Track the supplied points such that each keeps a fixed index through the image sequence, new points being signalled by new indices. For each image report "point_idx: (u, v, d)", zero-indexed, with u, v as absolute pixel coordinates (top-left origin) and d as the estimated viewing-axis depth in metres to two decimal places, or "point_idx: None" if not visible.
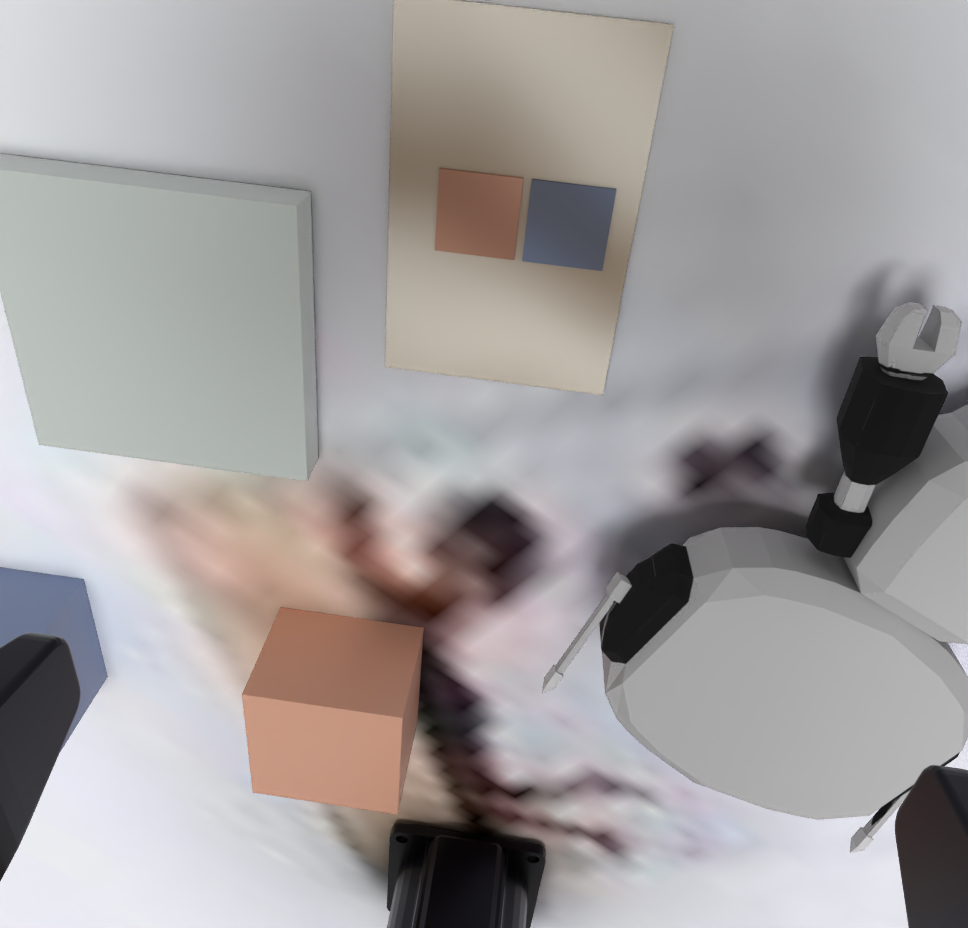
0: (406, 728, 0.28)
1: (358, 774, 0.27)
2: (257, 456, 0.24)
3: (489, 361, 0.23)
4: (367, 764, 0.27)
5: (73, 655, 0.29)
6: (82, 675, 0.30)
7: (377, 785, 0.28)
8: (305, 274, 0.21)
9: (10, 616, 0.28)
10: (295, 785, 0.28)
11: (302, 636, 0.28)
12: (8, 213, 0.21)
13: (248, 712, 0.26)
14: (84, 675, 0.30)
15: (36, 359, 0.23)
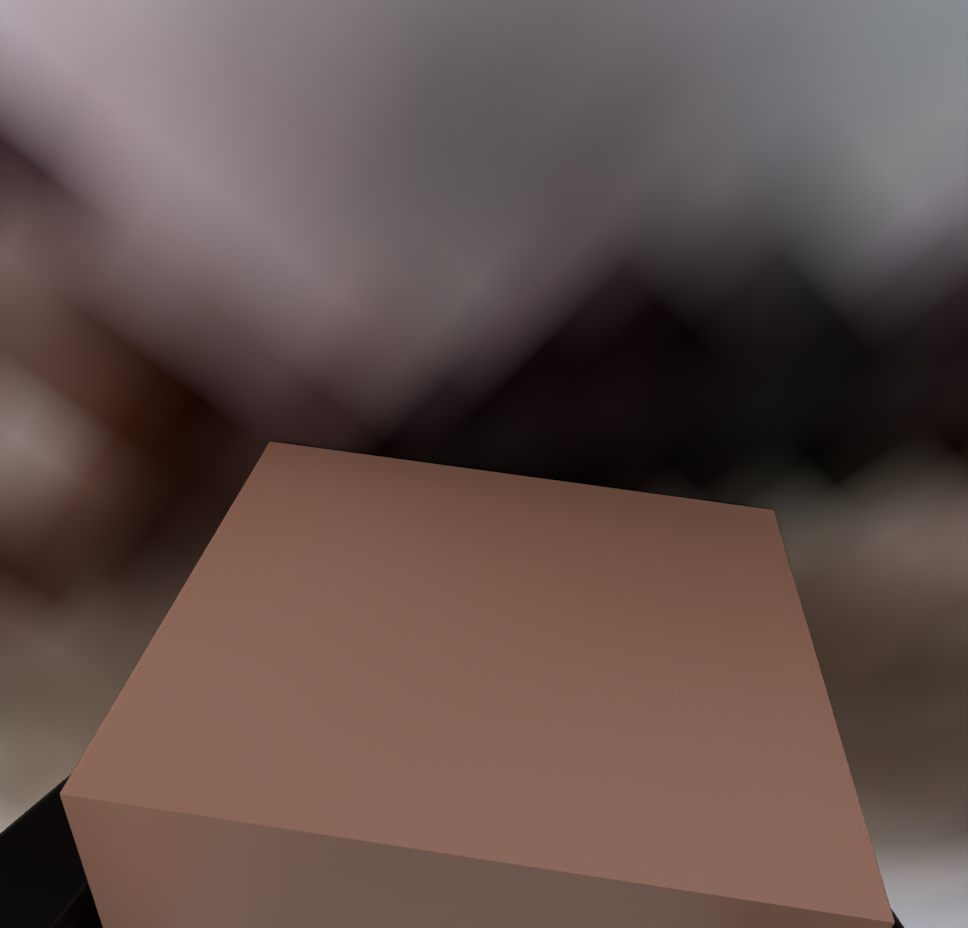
0: (380, 704, 0.06)
1: None
2: None
3: None
4: None
5: None
6: None
7: None
8: None
9: None
10: None
11: None
12: None
13: None
14: None
15: None
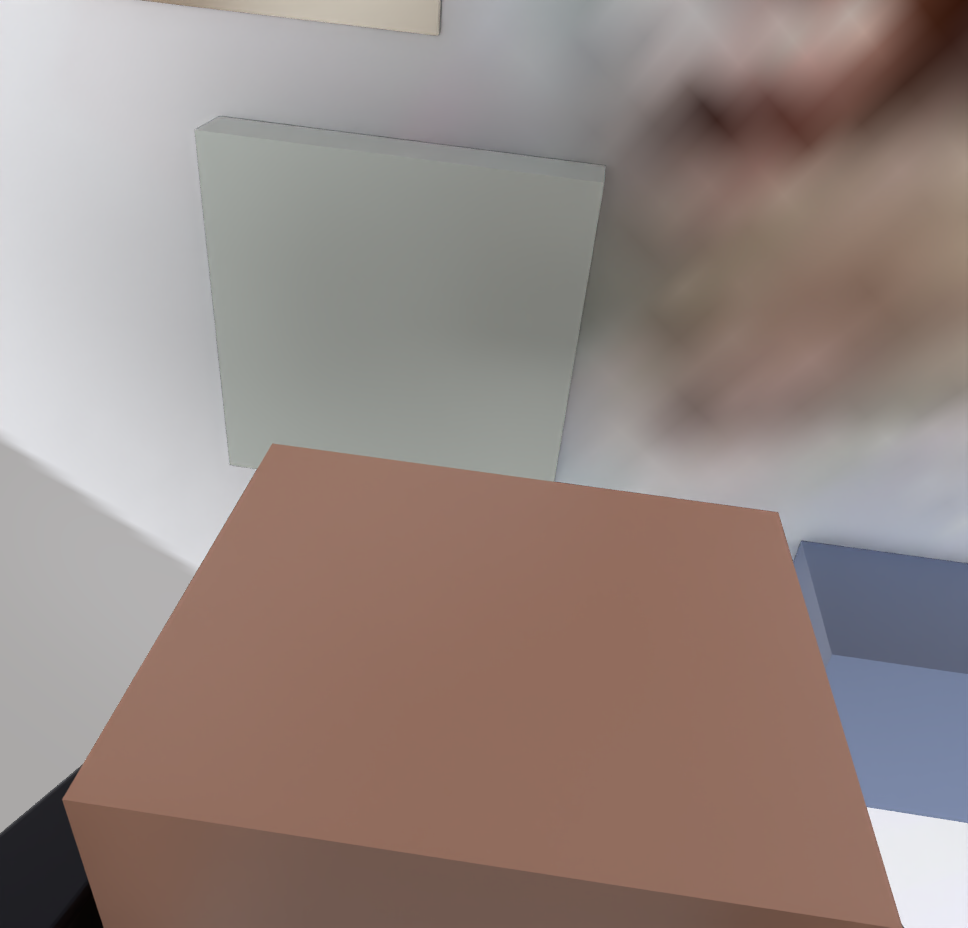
0: (384, 709, 0.06)
1: None
2: (560, 251, 0.17)
3: None
4: None
5: (907, 594, 0.20)
6: (959, 595, 0.20)
7: None
8: (298, 135, 0.17)
9: None
10: None
11: None
12: None
13: None
14: (961, 594, 0.20)
15: None
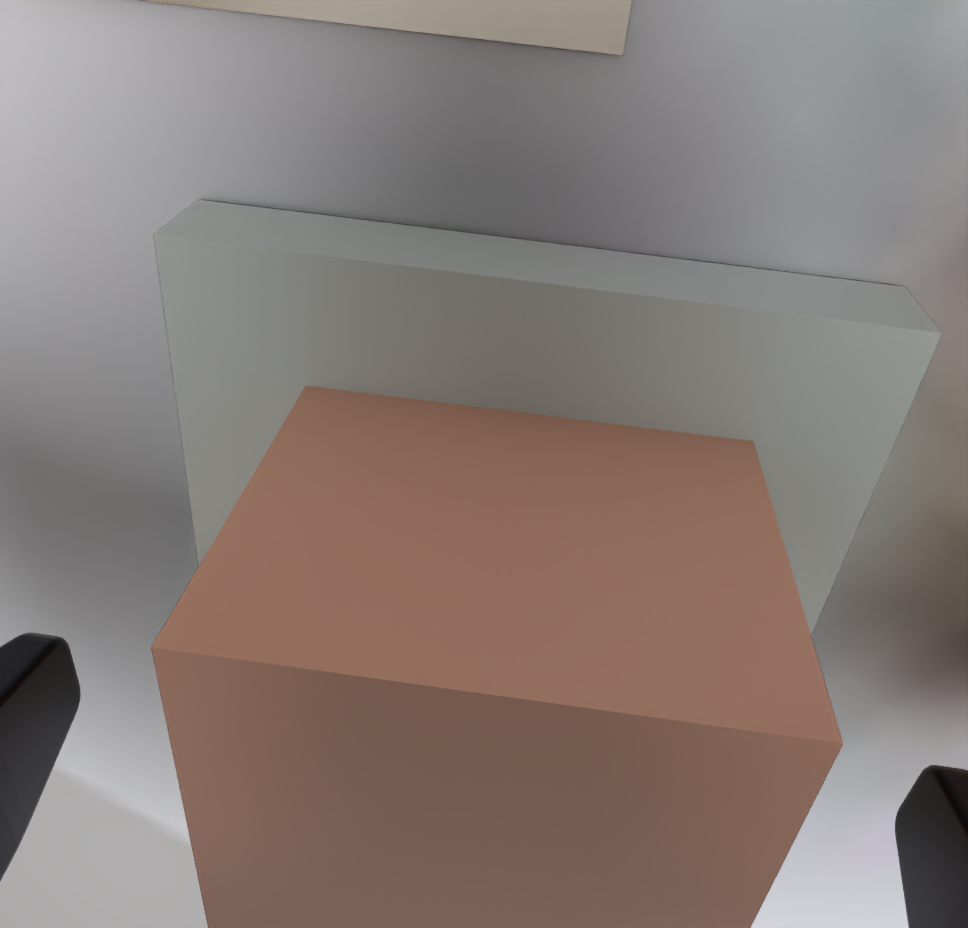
0: (413, 586, 0.07)
1: (549, 817, 0.07)
2: (831, 444, 0.09)
3: None
4: (478, 783, 0.07)
5: None
6: None
7: (623, 777, 0.06)
8: (348, 240, 0.09)
9: None
10: None
11: None
12: None
13: None
14: None
15: None
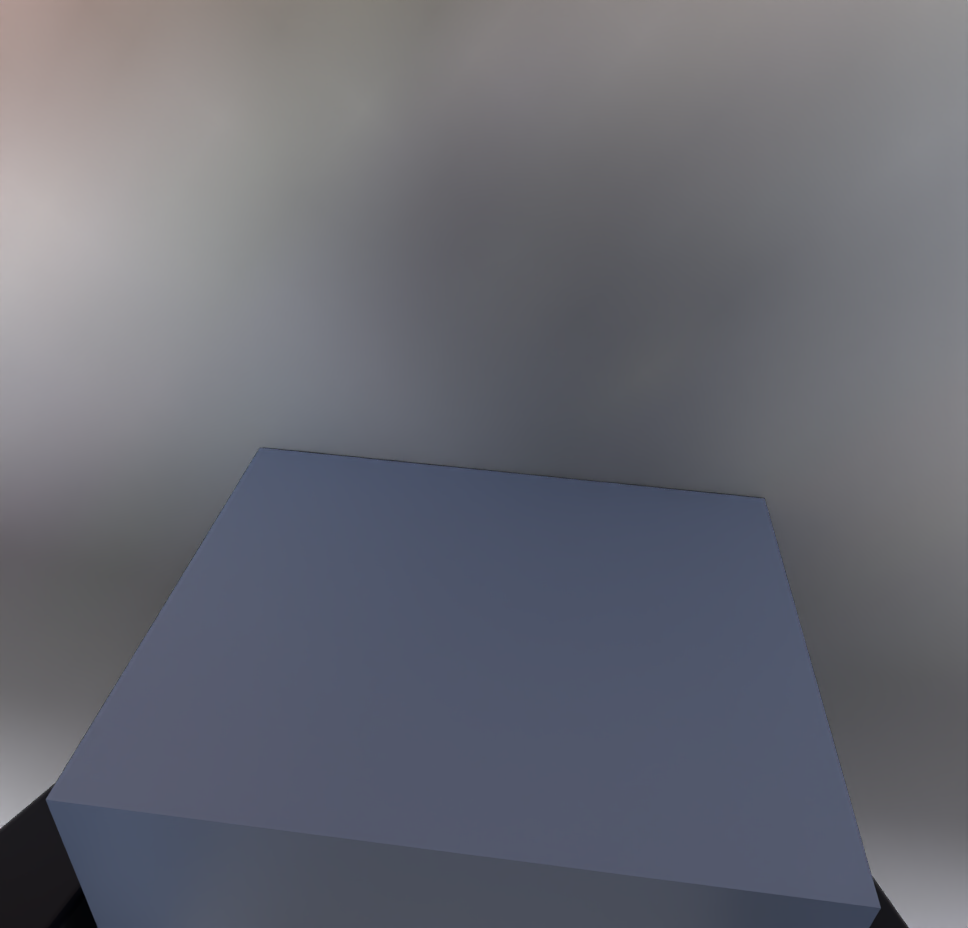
0: None
1: None
2: None
3: None
4: None
5: (456, 581, 0.07)
6: (608, 579, 0.07)
7: None
8: None
9: None
10: None
11: None
12: None
13: None
14: (615, 578, 0.07)
15: None
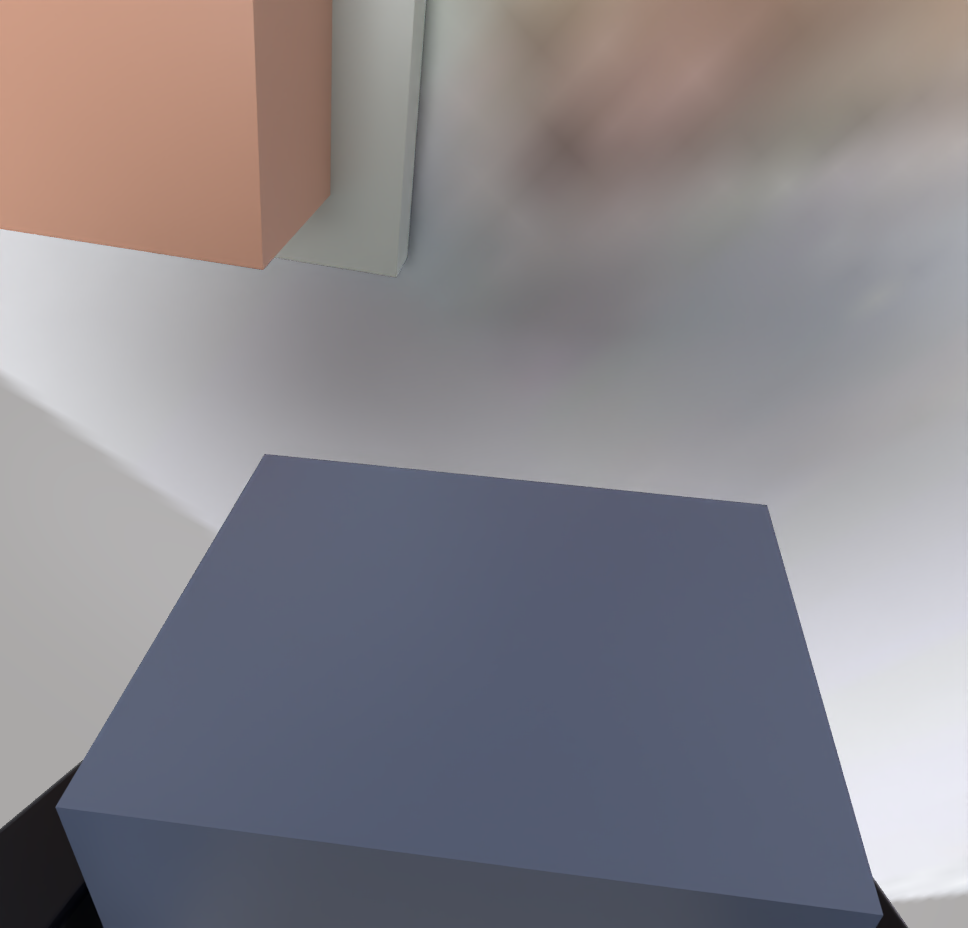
0: None
1: None
2: None
3: None
4: None
5: (460, 588, 0.07)
6: (612, 587, 0.07)
7: None
8: None
9: None
10: (209, 165, 0.12)
11: None
12: None
13: (4, 220, 0.13)
14: (619, 584, 0.07)
15: None
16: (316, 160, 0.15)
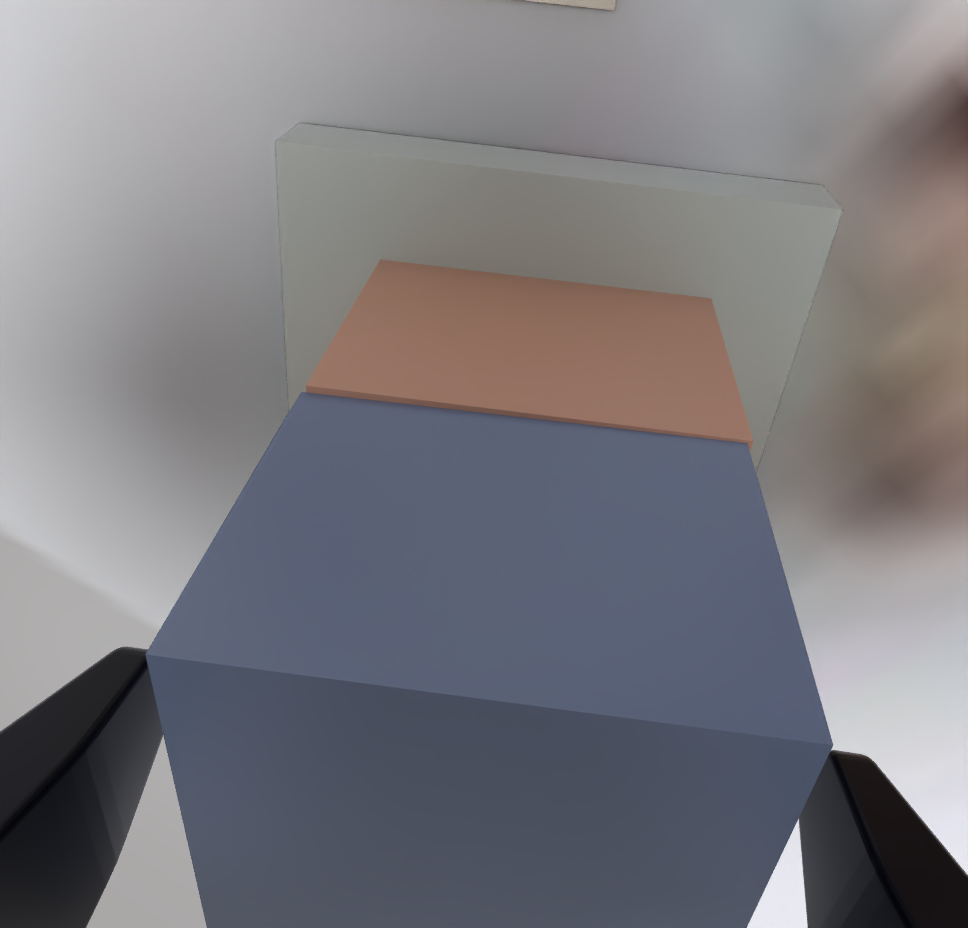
0: (471, 363, 0.10)
1: None
2: (768, 300, 0.12)
3: None
4: None
5: (479, 501, 0.08)
6: (610, 504, 0.08)
7: None
8: (414, 148, 0.12)
9: None
10: None
11: None
12: None
13: None
14: (617, 502, 0.08)
15: None
16: None
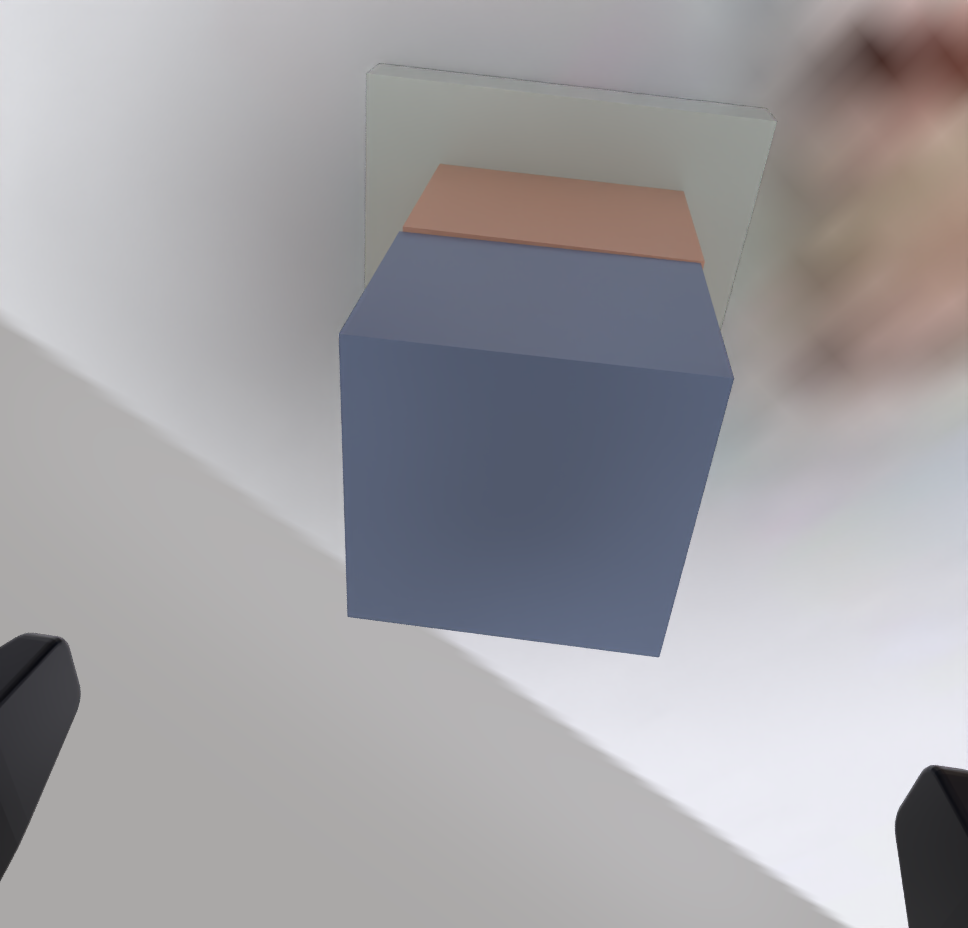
0: (512, 219, 0.15)
1: None
2: (725, 191, 0.17)
3: None
4: None
5: (524, 282, 0.13)
6: (608, 286, 0.13)
7: None
8: (466, 80, 0.17)
9: None
10: None
11: None
12: None
13: None
14: (612, 285, 0.13)
15: None
16: None
